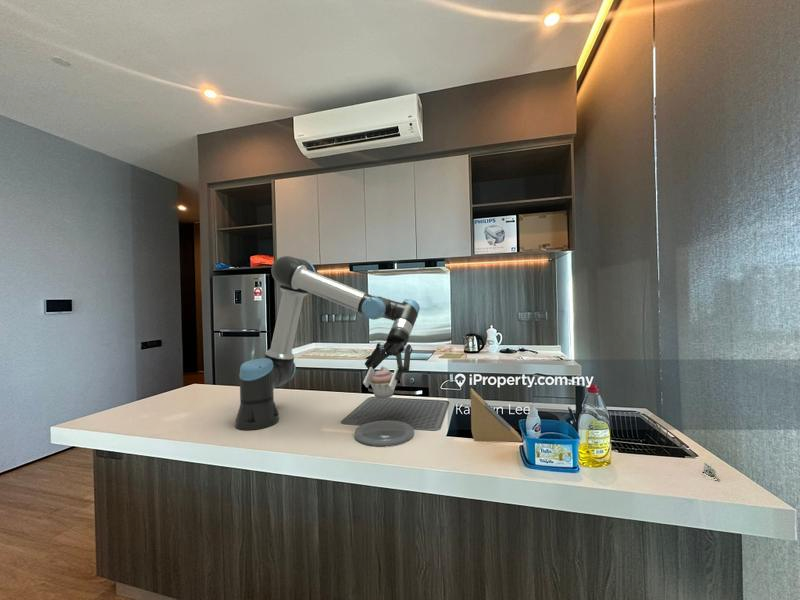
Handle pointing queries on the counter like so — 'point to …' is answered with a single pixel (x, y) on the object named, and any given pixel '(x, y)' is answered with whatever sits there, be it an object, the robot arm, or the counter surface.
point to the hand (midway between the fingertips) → (378, 386)
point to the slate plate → (384, 433)
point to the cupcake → (382, 383)
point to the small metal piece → (710, 470)
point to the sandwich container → (489, 423)
